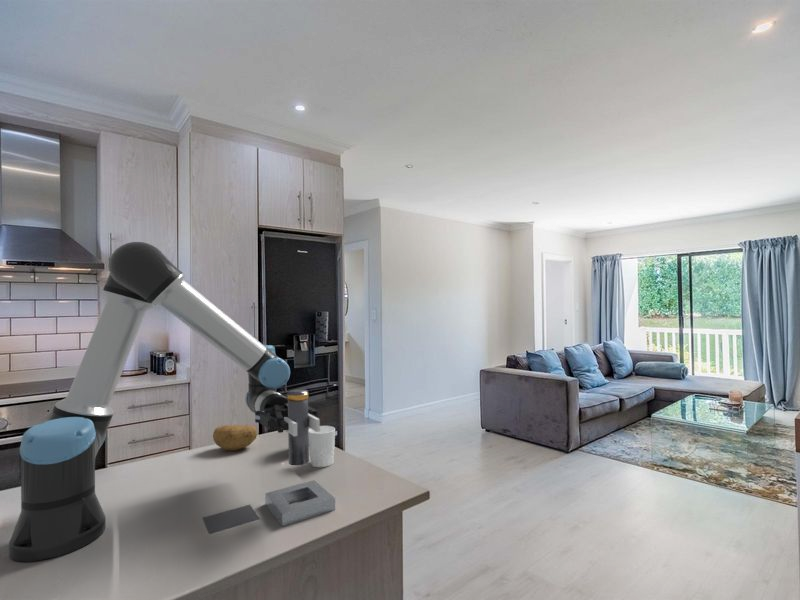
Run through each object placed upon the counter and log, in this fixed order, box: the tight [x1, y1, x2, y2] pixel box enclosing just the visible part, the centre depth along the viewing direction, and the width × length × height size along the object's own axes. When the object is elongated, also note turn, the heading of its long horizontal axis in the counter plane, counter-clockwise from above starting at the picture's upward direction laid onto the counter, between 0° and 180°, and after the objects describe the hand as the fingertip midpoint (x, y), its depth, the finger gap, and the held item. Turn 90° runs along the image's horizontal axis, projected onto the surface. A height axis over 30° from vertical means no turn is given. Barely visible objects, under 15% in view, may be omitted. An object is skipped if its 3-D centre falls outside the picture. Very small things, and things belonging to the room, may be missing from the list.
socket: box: [264, 479, 336, 527], centre depth 94 cm, size 12×12×4 cm
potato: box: [212, 424, 258, 452], centre depth 137 cm, size 10×14×8 cm
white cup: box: [309, 425, 336, 468], centre depth 123 cm, size 8×8×10 cm
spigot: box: [286, 389, 310, 466], centre depth 94 cm, size 5×5×16 cm
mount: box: [202, 504, 260, 535], centre depth 90 cm, size 10×8×1 cm
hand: (307, 427), depth 90 cm, fingers closed on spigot, 4 cm apart
